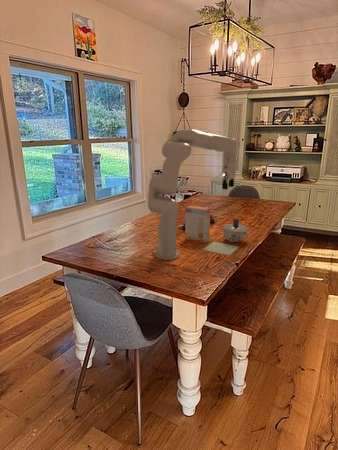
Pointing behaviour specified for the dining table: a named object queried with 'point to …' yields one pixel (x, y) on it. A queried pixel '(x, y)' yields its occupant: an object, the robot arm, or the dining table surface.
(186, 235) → the cracker box
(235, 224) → the lid
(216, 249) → the mat
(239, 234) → the teacup
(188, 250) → the dining table surface
